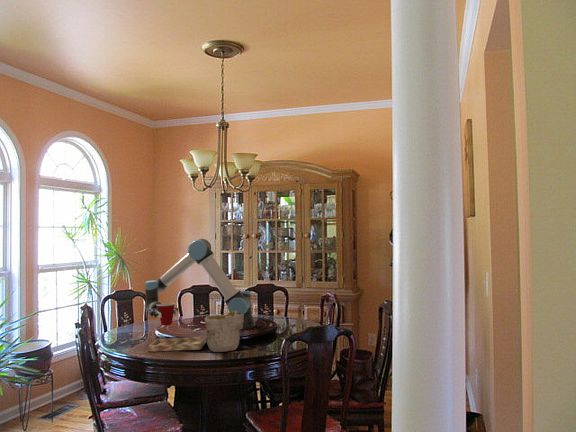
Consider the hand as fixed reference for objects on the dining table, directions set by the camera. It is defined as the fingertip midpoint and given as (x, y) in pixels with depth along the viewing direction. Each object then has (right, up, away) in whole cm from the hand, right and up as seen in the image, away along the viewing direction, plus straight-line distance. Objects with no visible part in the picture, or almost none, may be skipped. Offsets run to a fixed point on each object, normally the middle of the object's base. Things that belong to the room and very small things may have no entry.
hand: (168, 314), depth 277 cm
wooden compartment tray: (+5, -18, -1) cm, 19 cm away
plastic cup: (-2, -7, +4) cm, 8 cm away
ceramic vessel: (+32, -17, -9) cm, 37 cm away
